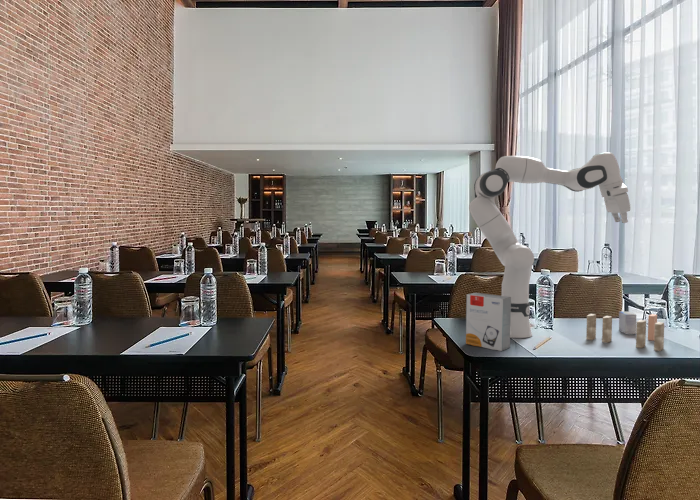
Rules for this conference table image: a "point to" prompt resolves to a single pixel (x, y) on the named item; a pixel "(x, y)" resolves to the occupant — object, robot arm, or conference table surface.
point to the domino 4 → (651, 326)
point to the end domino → (659, 336)
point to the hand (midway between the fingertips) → (621, 222)
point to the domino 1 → (591, 327)
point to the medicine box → (627, 322)
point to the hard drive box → (488, 321)
